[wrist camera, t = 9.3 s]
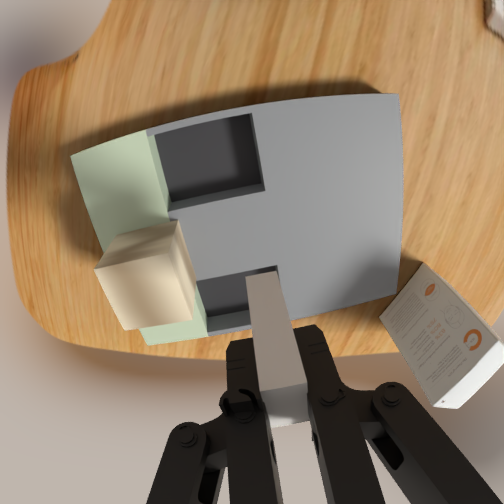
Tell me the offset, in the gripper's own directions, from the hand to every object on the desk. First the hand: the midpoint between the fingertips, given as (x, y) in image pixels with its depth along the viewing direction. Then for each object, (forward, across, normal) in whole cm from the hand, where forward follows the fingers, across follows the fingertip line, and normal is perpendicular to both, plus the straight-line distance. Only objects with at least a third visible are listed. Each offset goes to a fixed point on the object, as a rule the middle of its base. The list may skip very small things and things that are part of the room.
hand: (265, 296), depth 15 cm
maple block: (+8, -7, -1) cm, 11 cm away
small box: (+11, +17, -13) cm, 24 cm away
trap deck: (+11, 0, 0) cm, 11 cm away
